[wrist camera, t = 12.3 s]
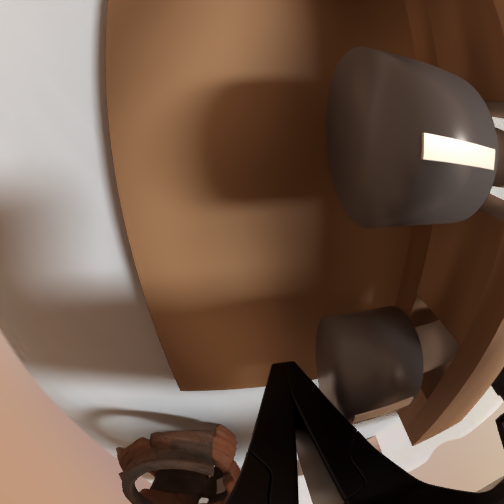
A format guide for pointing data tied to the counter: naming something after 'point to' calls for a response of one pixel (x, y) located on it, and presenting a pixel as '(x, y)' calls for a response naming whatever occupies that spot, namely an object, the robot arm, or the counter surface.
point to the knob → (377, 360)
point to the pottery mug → (181, 467)
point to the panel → (290, 189)
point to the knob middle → (408, 142)
